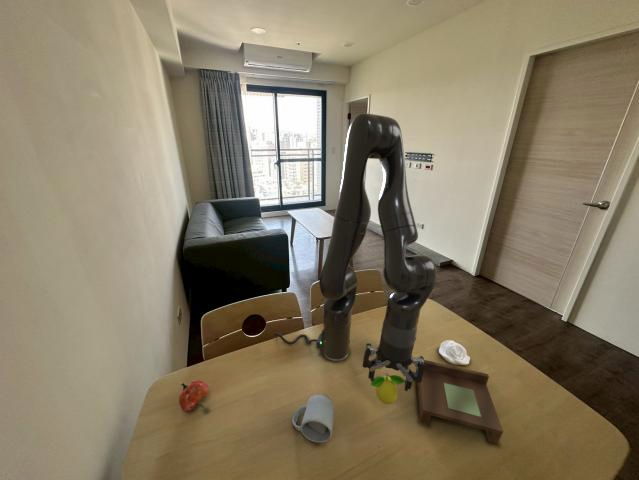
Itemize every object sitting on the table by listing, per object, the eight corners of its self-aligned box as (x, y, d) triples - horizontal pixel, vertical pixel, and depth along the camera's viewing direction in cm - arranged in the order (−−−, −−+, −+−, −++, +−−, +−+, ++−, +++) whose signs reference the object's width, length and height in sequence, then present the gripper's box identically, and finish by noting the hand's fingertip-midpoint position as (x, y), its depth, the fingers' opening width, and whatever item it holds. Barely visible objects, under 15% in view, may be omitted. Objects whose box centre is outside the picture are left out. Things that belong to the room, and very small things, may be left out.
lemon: (403, 400, 67) (405, 372, 63) (392, 416, 63) (393, 388, 59) (381, 385, 71) (382, 358, 68) (369, 400, 67) (369, 372, 64)
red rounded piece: (215, 401, 73) (195, 373, 75) (219, 398, 68) (198, 369, 70) (191, 424, 68) (170, 394, 70) (193, 423, 63) (171, 390, 65)
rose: (449, 331, 92) (477, 347, 85) (446, 340, 94) (474, 357, 87) (435, 344, 86) (464, 362, 79) (433, 354, 88) (461, 372, 81)
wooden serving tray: (420, 422, 67) (425, 402, 64) (416, 377, 79) (421, 358, 76) (497, 444, 62) (507, 423, 59) (480, 393, 75) (488, 373, 72)
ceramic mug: (334, 412, 69) (335, 392, 66) (331, 445, 61) (331, 425, 58) (296, 406, 70) (295, 387, 67) (289, 438, 63) (287, 418, 60)
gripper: (429, 330, 60) (417, 378, 66) (369, 317, 64) (363, 364, 70) (432, 354, 53) (418, 405, 60) (365, 338, 57) (358, 388, 63)
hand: (388, 383), depth 65 cm, fingers closed on lemon, 8 cm apart
